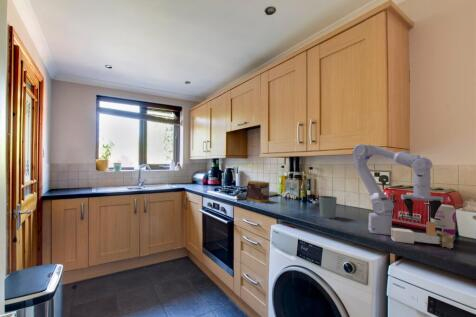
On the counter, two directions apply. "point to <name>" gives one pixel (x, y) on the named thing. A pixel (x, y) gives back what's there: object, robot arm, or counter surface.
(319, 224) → the counter surface
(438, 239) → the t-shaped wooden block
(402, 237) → the white rectangular block
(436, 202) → the robot arm
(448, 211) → the supplement can
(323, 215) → the grey tapered cup
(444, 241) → the oak socket
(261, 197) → the supplement box
